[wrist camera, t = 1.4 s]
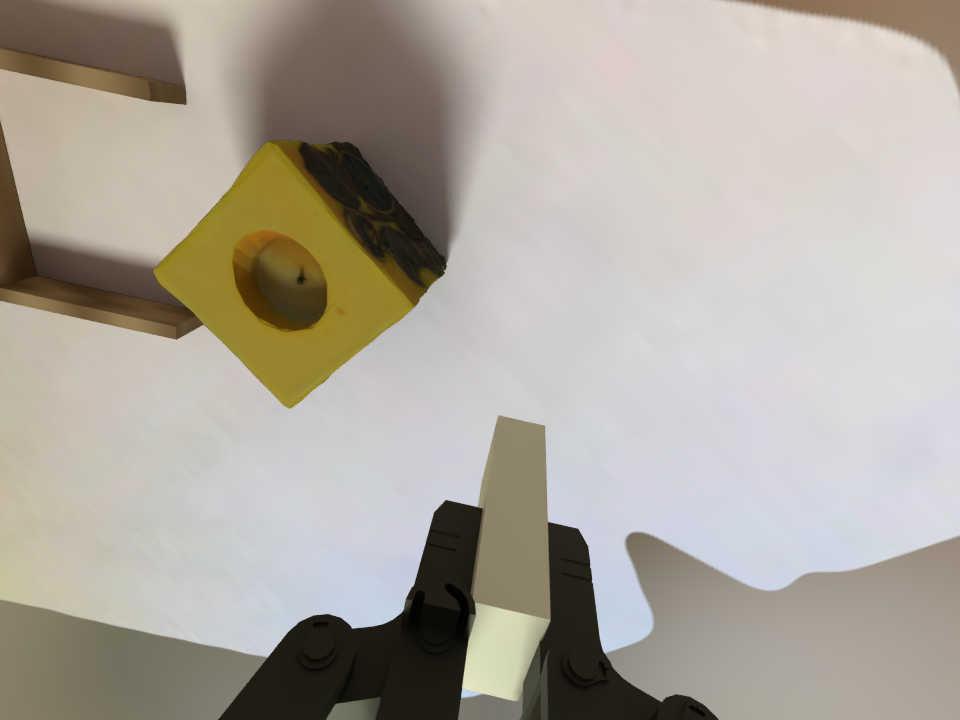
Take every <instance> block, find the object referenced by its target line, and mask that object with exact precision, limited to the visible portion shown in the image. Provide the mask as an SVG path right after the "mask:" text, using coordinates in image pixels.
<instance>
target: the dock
mask: <svg viewBox="0 0 960 720" xmlns="http://www.w3.org/2000/svg"><path fill="white" fill-rule="evenodd" d="M0 69H4V70H8V71H13V72H18V73H22V74H27V75H32V76H36V77H41V78H46V79H50V80H55V81H60V82H64V83H69V84H74V85H78V86H83V87H88V88H92V89H97V90H102V91H106V92H111V93H116V94H120V95H125V96H130V97H134V98H139V99H144V100H148V101H156V102H165V103H175V104H184V105H186V94H185V86H180V85H176V84H171V83H166V82H162V81H157V80H152V79H148V78H143V77H138V76H134V75H129V74H124V73H120V72H115V71H110V70H105V69H101V68H96V67H91V66H87V65H82V64H77V63H73V62H68V61H63V60H59V59H54V58H49V57H45V56H40V55H35V54H31V53H26V52H21V51H16V50H12V49H7V48H2V47H0ZM0 301H4V302H9V303H13V304H18V305H22V306H27V307H31V308H36V309H40V310H45V311H50V312H54V313H59V314H63V315H68V316H72V317H77V318H81V319H86V320H90V321H95V322H99V323H104V324H108V325H113V326H118V327H122V328H127V329H131V330H136V331H140V332H145V333H149V334H154V335H158V336H163V337H167V338H172V339H176V340H177V339H179V338H180V337H182V336H184V335H186V334H188V333H189V332H191V331H193V330H195V329H197V328H198V327H200V326H202V325H204V324H203V323H202V322H201V321H200V320H199V318H198V317H197V316H196V315H195V314H194V313H193V312H192V311H191V310H190V309H185V308H181V307H176V306H172V305H167V304H163V303H158V302H153V301H149V300H144V299H140V298H135V297H131V296H126V295H122V294H117V293H112V292H108V291H103V290H99V289H94V288H90V287H85V286H81V285H76V284H72V283H67V282H62V281H58V280H53V279H49V278H44V277H40V276H37V275H36V270H35V266H34V262H33V258H32V254H31V250H30V245H29V241H28V237H27V233H26V229H25V225H24V220H23V216H22V212H21V208H20V204H19V200H18V195H17V191H16V187H15V183H14V179H13V175H12V170H11V166H10V162H9V158H8V154H7V149H6V145H5V141H4V137H3V133H2V129H1V124H0Z"/></svg>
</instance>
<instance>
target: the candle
mask: <svg viewBox="0 0 960 720" xmlns="http://www.w3.org/2000/svg"><path fill="white" fill-rule="evenodd" d="M446 267H447V266H446V262H445V259H444V257H443V256H441V255H439V254H438V252H437V251H436V249H435V248H434V247H433V245H432V243H431V242H430V240H429V239H427V238H426V237H425V236H424V235H423V233H422V232H421V230H420V229H419V228H418V226H417V225H416V224H415V223H414V219H413V218H412V217H411V216H410V215H409V214H408V213H407V212H406V210H405V209H404V208H403V207H402V206H401V205H400V204H399V203H398V201H397V200H396V199H395V198H394V196H393V195H392V194H391V193H390V192H389V190H388V188H387V187H386V186H385V185H384V183H383V181H382V179H381V178H379V177H378V176H377V175H376V174H374V173H373V171H372V169H371V168H370V166H369V165H368V163H367V162H366V161H365V160H364V159H363V158H362V156H361V154H360V152H359V150H358V148H356V147H355V146H353V145H352V144H351V143H348V142H343V143H339V142H333V143H330V144H328V145H319V144H312V145H309V144H308V143H305V142H302V141H289V140H277V141H268V142H267V143H266V144H265V145H264V146H263V147H262V148H261V149H260V150H259V151H258V152H257V153H256V154H255V155H254V156H253V157H252V159H251V160H250V161H249V163H248V164H247V165H246V167H245V168H244V169H243V171H242V172H241V173H240V175H239V176H238V178H237V179H236V181H235V182H234V184H233V185H232V187H231V188H230V189H229V190H228V192H227V193H226V194H225V195H224V196H223V197H222V198H221V199H220V201H219V202H218V203H217V204H216V205H215V206H214V207H213V208H212V209H211V211H210V212H209V213H208V214H207V215H206V216H205V217H204V218H203V219H202V220H201V221H200V222H199V223H198V225H197V226H196V227H195V228H194V229H193V230H192V231H191V232H190V234H189V235H188V236H187V237H186V238H185V239H184V240H183V241H182V242H180V243H179V244H178V245H177V246H176V247H175V248H174V249H173V250H172V251H171V252H170V253H169V254H168V255H167V256H166V257H165V258H164V259H163V260H162V261H161V262H160V263H159V264H158V266H157V267H156V268H155V269H154V271H153V272H154V274H155V276H156V278H157V280H158V282H159V284H160V285H161V286H163V287H164V288H165V289H166V290H167V291H169V292H170V293H171V294H172V295H173V296H175V297H176V298H177V299H178V300H179V301H181V302H182V303H183V304H184V305H185V306H186V307H188V308H189V309H190V310H191V311H192V312H193V313H194V314H195V315H196V316H197V317H198V318H199V320H200V321H201V322H202V323H203V324H204V325H205V326H206V327H207V328H208V329H209V330H210V331H211V332H212V333H213V334H214V335H215V336H217V337H218V338H219V339H220V340H221V341H222V342H223V343H224V344H225V345H226V346H227V347H228V348H229V349H230V350H231V351H232V352H233V353H234V354H235V355H236V356H237V357H238V358H239V359H240V360H241V361H242V363H243V364H244V365H245V366H246V367H247V368H248V369H249V370H250V371H251V372H252V373H253V374H254V375H255V376H256V378H257V379H258V380H259V381H260V382H261V383H262V384H263V385H264V386H265V387H266V388H267V389H268V390H269V391H270V392H271V393H272V394H273V395H274V396H275V397H276V398H277V399H278V400H279V401H280V402H281V403H282V404H283V405H284V406H286V407H287V408H292V407H294V406H295V405H296V404H298V403H299V402H300V401H302V400H303V399H304V398H305V397H306V396H307V395H308V394H309V393H310V392H311V391H313V390H314V389H315V388H316V387H317V386H319V385H320V384H322V383H323V382H324V381H325V380H326V379H328V378H329V376H330V375H331V374H332V373H333V372H335V371H336V370H337V369H338V368H339V367H341V366H342V365H343V364H344V363H346V362H347V361H348V360H349V359H351V358H352V357H353V356H354V355H356V354H357V353H358V352H359V351H361V350H362V349H363V348H364V347H366V346H367V345H368V344H369V343H371V342H372V341H373V340H374V339H375V338H377V337H378V336H379V335H380V334H381V333H383V332H384V331H385V330H386V329H388V328H389V327H391V326H392V325H394V324H395V323H397V322H398V321H400V320H401V319H402V318H403V317H404V316H405V315H407V314H408V313H409V312H410V311H411V310H412V309H413V308H414V307H415V306H416V305H417V304H418V302H419V300H420V298H421V297H422V296H423V295H424V293H426V292H427V290H428V289H429V287H430V286H431V285H432V284H433V283H434V282H435V281H436V280H437V279H439V278H440V277H441V276H443V275H444V273H445V272H444V270H445V269H446Z"/></svg>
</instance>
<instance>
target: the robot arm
mask: <svg viewBox="0 0 960 720" xmlns="http://www.w3.org/2000/svg"><path fill="white" fill-rule="evenodd" d="M462 689H466V690H471V691H475V692H479V693H483V694H488V695H493V696H497V697H501V698H505V699H509V700H513V701H518V700H519V698H520V695H521V693H522V690H523V713H522V715H521V718H520V720H718V718H717V717H716V716H715V715H714V714H713V713H712V712H711V711H710V710H709V709H708V708H707V707H706V706H704V705H703V704H701V703H699V702H698V701H696V700H694V699H693V698H691V697H687V696H682V695H677V694H676V695H673V696H670V697H666V698H665V699H664V701H663V702H660V701H658V700H657V699H655V698H653V697H652V696H650V695H648V694H646V693H645V692H643V691H641V690H640V689H638V688H636V687H635V686H633V685H631V684H630V683H629V682H627V681H626V680H624V679H623V678H622V677H621V676H620V675H619V674H618V673H617V672H616V671H615V670H614V669H613V667H612V665H611V662H610V661H609V659H608V658H607V657H606V655H605V654H604V652H603V650H602V646H601V642H600V637H599V629H598V621H597V613H596V605H595V597H594V589H593V583H592V574H591V568H590V558H589V550H588V545H587V544H586V542H585V540H584V538H583V536H582V535H581V533H580V531H579V529H576V528H572V527H568V526H563V525H559V524H554V523H550V522H548V513H547V478H546V444H545V426H543V425H539V424H534V423H530V422H526V421H521V420H517V419H512V418H508V417H503V416H499V415H498V419H497V423H496V427H495V431H494V435H493V439H492V443H491V447H490V451H489V455H488V459H487V463H486V467H485V471H484V475H483V479H482V484H481V491H480V497H479V503H478V507H474V506H470V505H465V504H461V503H457V502H452V501H448V500H445V502H444V503H443V504H442V505H441V506H440V507H439V508H438V509H437V510H436V511H435V512H434V515H433V519H432V522H431V526H430V530H429V533H428V537H427V541H426V545H425V548H424V551H423V555H422V559H421V562H420V566H419V570H418V573H417V577H416V580H415V584H414V586H413V587H412V588H411V590H410V592H409V594H408V596H407V598H406V601H405V607H404V610H403V612H402V613H401V614H400V615H398V616H397V617H396V618H395V619H393V620H391V621H389V622H387V623H385V624H382V625H378V626H373V627H365V628H355V629H352V628H351V626H350V625H349V624H348V623H347V622H345V621H344V620H343V619H342V618H340V617H336V616H333V615H329V614H324V615H314V616H311V617H309V618H307V619H305V620H303V621H300V622H299V623H298V624H297V625H296V626H295V627H293V628H292V629H291V630H290V631H289V632H288V633H287V634H286V636H285V637H284V638H283V639H282V641H281V642H280V643H279V644H278V646H277V647H276V648H275V649H274V651H273V652H272V653H271V654H270V656H269V657H268V658H267V659H266V661H265V662H264V663H263V664H262V666H261V667H260V668H259V669H258V671H257V672H256V673H255V675H254V676H253V677H252V678H251V679H250V681H249V682H248V683H247V684H246V686H245V687H244V688H243V689H242V691H241V692H240V693H239V694H238V696H237V697H236V698H235V699H234V701H233V702H232V703H231V705H230V706H229V707H228V708H227V709H226V711H225V712H224V713H223V715H222V716H221V717H220V718H219V719H218V720H458V715H459V707H460V700H461V692H462Z"/></svg>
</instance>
